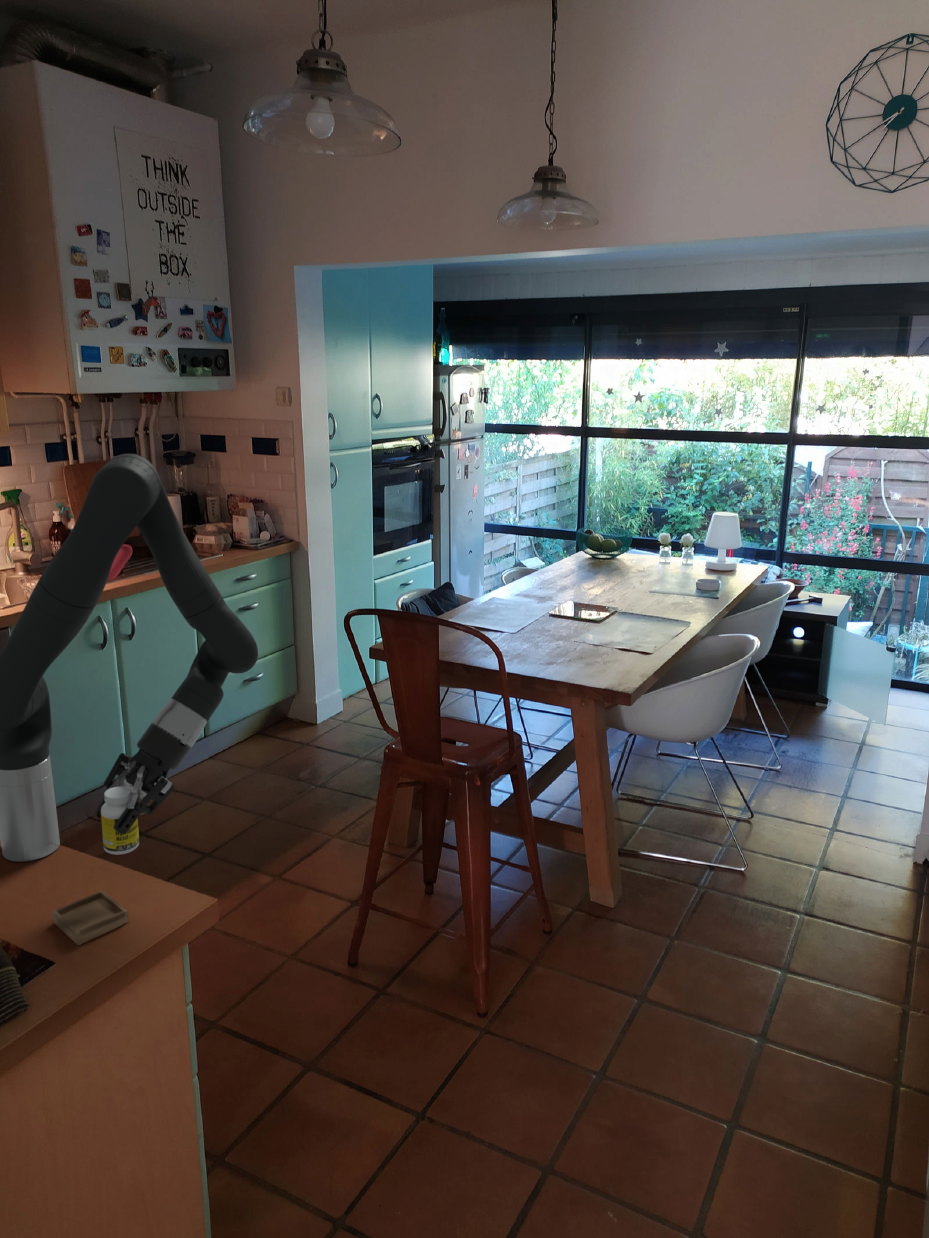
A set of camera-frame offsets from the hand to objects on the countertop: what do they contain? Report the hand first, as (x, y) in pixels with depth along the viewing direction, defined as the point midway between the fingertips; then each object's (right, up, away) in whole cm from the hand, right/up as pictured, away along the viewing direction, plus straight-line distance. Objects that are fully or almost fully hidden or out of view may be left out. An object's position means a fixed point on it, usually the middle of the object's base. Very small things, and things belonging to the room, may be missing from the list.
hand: (109, 824), depth 144 cm
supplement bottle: (+1, -4, +3) cm, 5 cm away
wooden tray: (-1, -14, -4) cm, 15 cm away
